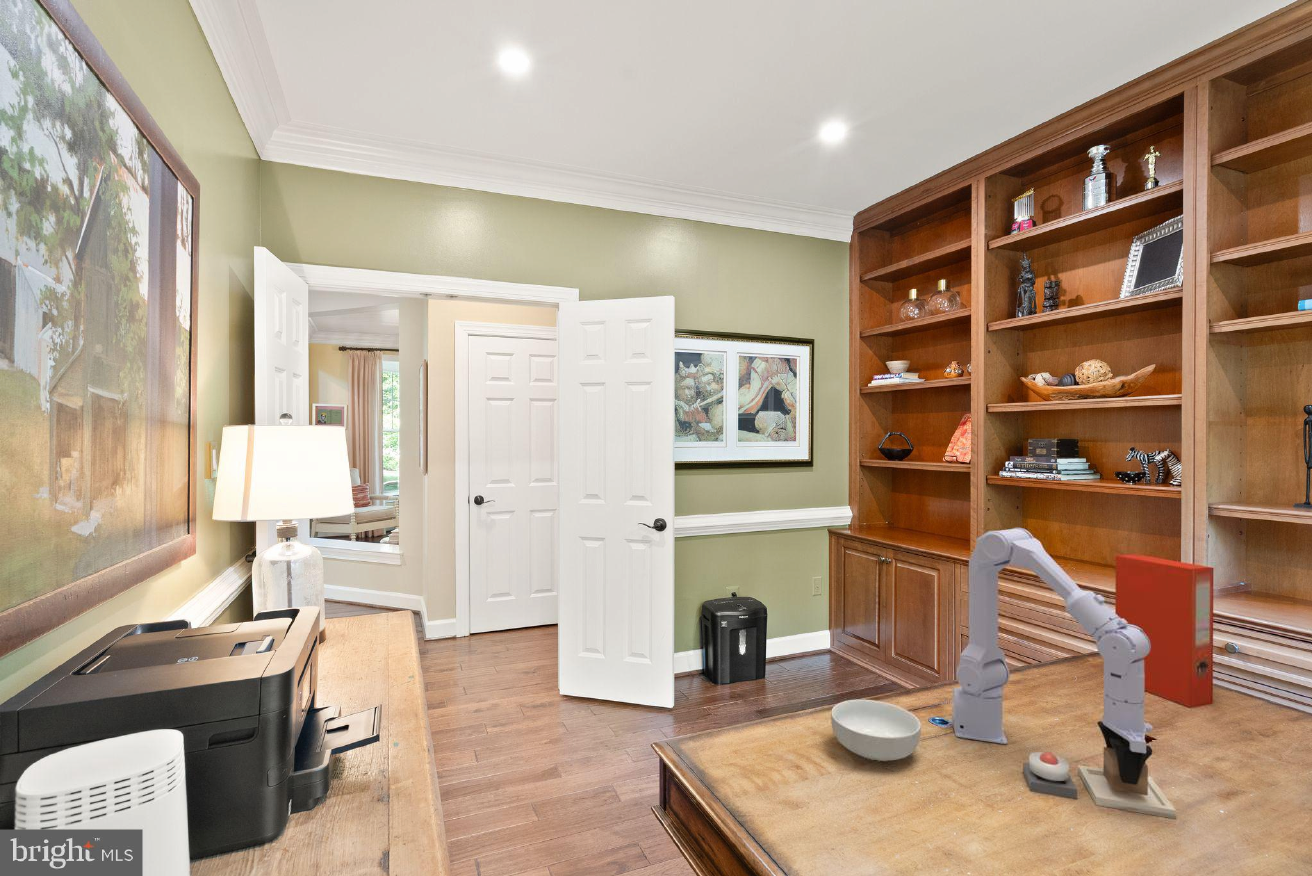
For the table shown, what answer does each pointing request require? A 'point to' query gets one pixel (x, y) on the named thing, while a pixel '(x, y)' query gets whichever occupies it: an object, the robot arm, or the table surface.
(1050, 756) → the dome
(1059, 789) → the grey button base
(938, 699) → the table surface
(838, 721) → the cereal bowl
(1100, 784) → the die pad
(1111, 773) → the die
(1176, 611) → the file binder
